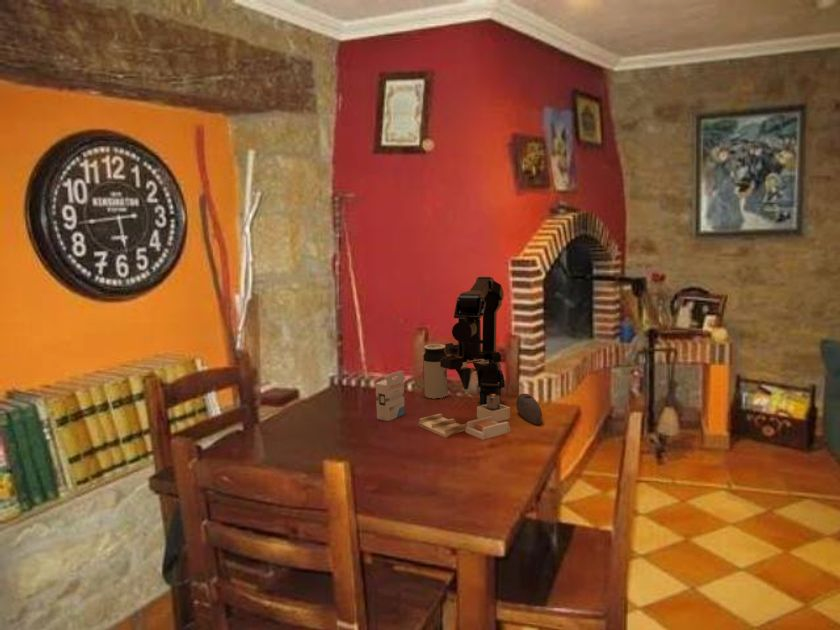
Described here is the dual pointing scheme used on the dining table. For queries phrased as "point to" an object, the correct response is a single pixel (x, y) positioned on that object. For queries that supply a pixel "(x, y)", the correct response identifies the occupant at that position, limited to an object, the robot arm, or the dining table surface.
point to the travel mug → (434, 371)
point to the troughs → (441, 425)
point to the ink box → (390, 397)
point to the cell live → (472, 382)
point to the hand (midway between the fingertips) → (471, 388)
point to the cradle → (487, 428)
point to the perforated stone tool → (529, 408)
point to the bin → (494, 413)
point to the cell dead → (493, 402)
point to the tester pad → (483, 425)
